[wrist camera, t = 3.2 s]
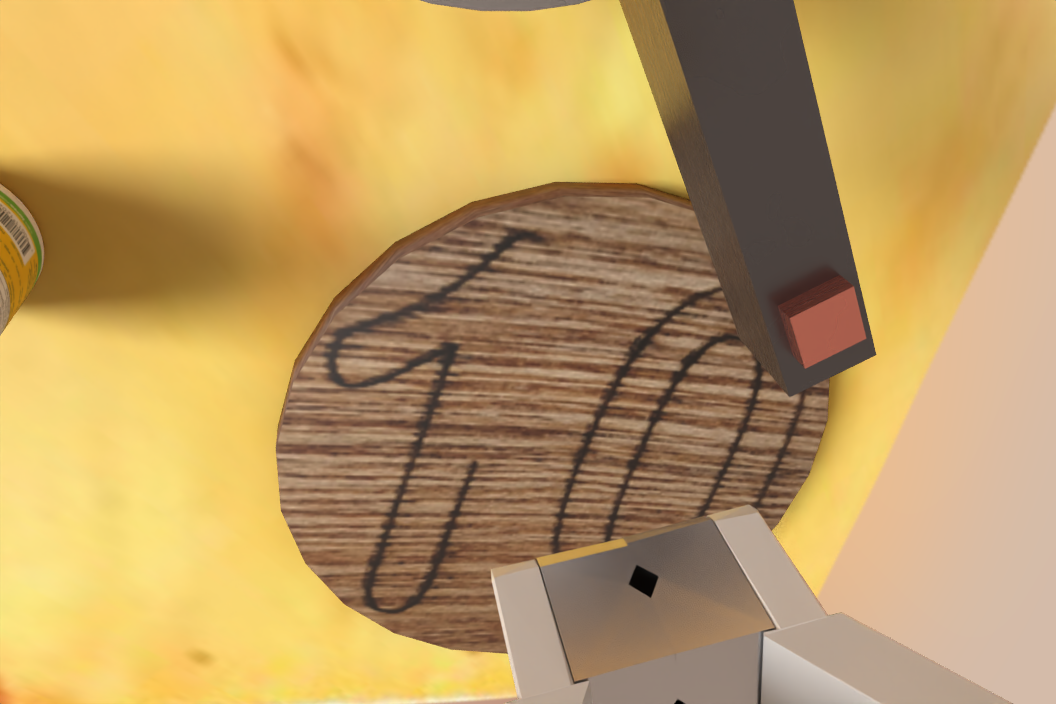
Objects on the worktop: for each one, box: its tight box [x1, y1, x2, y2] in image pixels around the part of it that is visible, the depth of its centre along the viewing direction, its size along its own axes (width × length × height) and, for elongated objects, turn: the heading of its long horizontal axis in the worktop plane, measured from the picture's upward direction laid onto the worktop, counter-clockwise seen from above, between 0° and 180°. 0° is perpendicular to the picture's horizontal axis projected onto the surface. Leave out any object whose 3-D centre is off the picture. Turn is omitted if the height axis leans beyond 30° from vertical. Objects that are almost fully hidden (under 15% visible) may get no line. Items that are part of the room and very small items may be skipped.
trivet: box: [276, 182, 829, 654], centre depth 37 cm, size 25×25×2 cm
